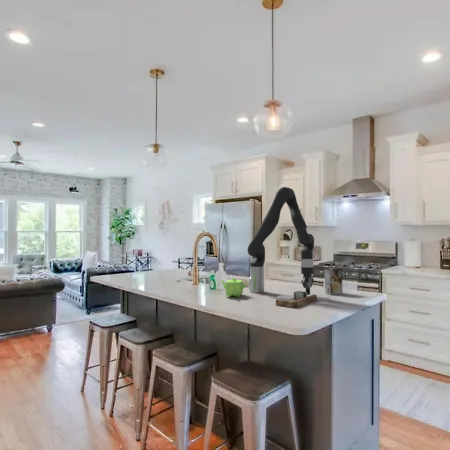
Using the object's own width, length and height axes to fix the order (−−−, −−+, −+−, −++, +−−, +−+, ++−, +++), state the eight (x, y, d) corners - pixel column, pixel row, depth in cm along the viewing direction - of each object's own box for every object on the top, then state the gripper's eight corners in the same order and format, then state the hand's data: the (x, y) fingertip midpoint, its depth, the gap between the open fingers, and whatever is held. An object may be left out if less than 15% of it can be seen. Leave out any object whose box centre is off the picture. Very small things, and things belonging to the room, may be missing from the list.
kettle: (231, 299, 205) (231, 280, 206) (218, 296, 217) (218, 278, 217) (250, 296, 214) (250, 278, 214) (237, 293, 226) (236, 276, 226)
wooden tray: (275, 305, 186) (275, 299, 186) (298, 297, 206) (298, 292, 206) (295, 308, 178) (295, 302, 179) (316, 299, 198) (316, 294, 198)
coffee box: (337, 292, 222) (336, 267, 222) (342, 293, 216) (342, 268, 216) (324, 293, 219) (324, 268, 220) (330, 294, 213) (329, 269, 214)
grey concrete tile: (274, 298, 206) (274, 297, 206) (281, 296, 212) (281, 295, 212) (289, 300, 200) (289, 299, 200) (296, 297, 206) (296, 297, 206)
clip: (293, 298, 200) (293, 292, 200) (297, 297, 204) (297, 290, 204) (303, 300, 196) (303, 293, 196) (307, 298, 200) (306, 291, 200)
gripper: (306, 264, 215) (307, 292, 215) (296, 266, 205) (297, 295, 205) (317, 265, 210) (318, 293, 210) (308, 267, 200) (308, 296, 200)
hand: (308, 294), depth 207 cm, fingers closed
